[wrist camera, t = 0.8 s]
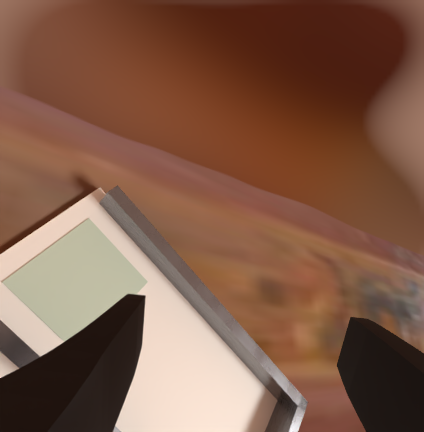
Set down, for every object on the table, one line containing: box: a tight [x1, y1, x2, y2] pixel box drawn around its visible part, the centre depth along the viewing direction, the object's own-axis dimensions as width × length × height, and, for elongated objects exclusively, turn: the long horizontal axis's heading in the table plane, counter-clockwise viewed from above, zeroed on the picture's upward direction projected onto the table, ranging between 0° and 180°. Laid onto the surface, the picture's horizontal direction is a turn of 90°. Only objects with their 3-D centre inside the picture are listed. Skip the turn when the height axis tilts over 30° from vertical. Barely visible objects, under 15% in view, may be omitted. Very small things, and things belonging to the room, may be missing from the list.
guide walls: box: [0, 186, 308, 432], centre depth 20 cm, size 19×26×2 cm
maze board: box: [0, 188, 277, 432], centre depth 21 cm, size 20×28×1 cm
